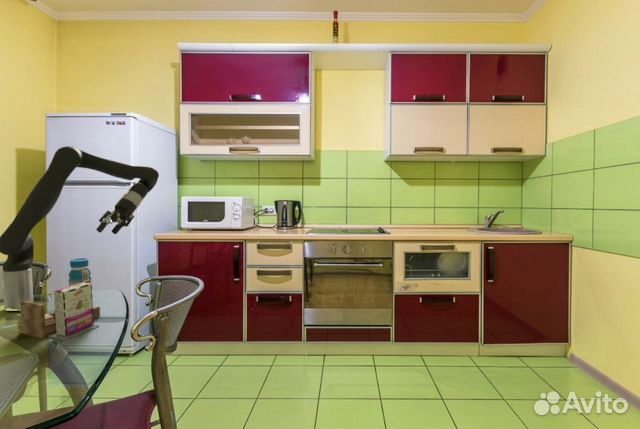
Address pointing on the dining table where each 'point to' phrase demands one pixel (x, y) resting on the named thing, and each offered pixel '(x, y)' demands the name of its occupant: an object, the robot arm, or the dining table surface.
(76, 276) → the beverage bottle
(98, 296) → the dining table surface
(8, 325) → the dining table surface
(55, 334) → the slate mat
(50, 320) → the offcut stack
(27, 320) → the slot rack
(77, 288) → the candy bar box
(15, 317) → the dining table surface
